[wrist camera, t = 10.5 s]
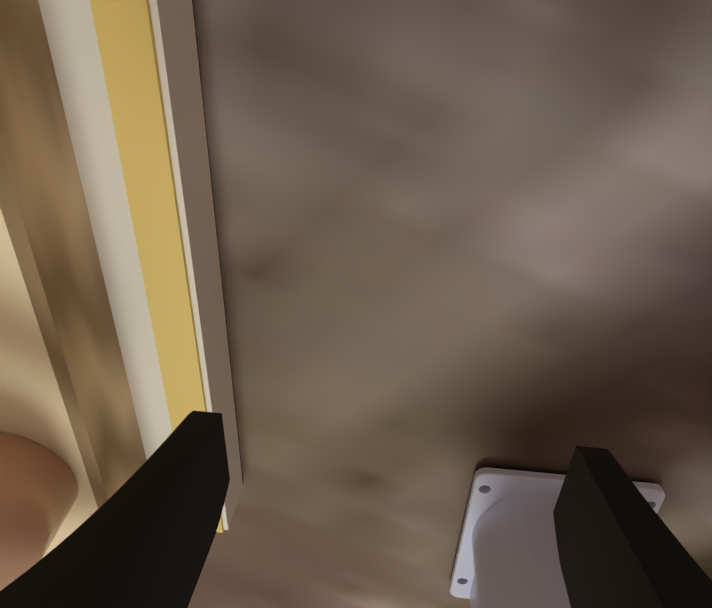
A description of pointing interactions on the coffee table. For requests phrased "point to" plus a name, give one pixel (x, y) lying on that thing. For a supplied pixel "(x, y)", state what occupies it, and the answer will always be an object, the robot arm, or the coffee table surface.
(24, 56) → the beige long bar
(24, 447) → the cylinder
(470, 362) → the coffee table surface
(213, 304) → the dock
